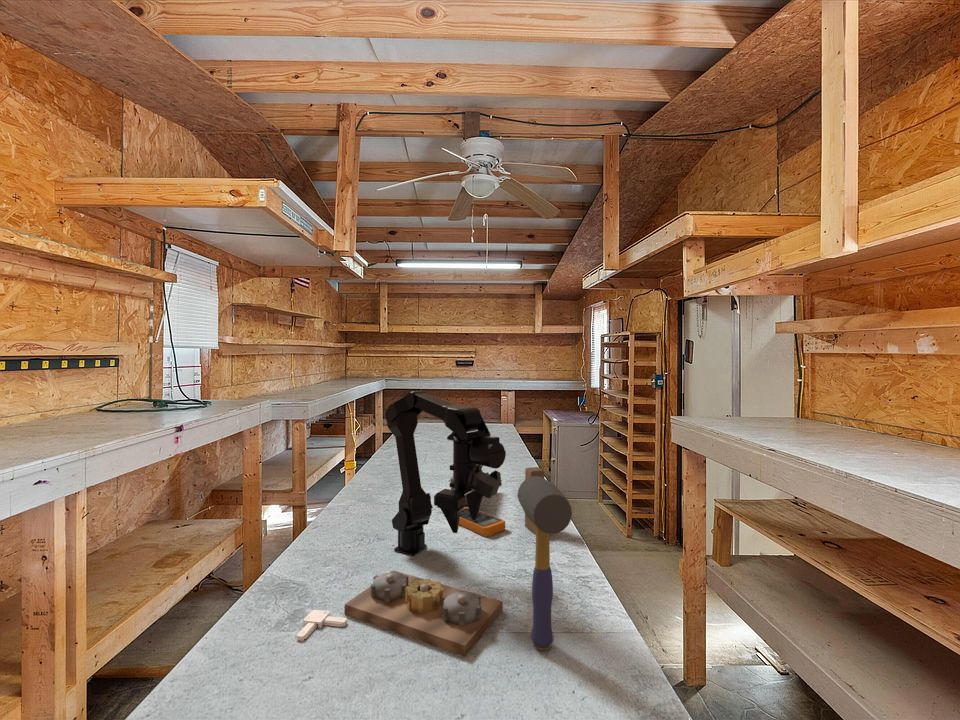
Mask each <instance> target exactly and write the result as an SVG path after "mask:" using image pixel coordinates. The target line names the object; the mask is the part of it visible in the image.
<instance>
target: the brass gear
mask: <svg viewBox="0 0 960 720" xmlns="http://www.w3.org/2000/svg"><path fill="white" fill-rule="evenodd" d="M424 579H425V580H419V581H417V580H415V581H413V582H412V584H410V585H409V586H406V588H405V603H407V609H408V610H409V611H410V610H413V611H416V612H418V613H421V614H423V612H429V611H433V612H434V611H436V610H437V608H438V607H439V606H440V605H443V588H442V587H441V584H442V582H441V581H436V580H434V579H433V580H432V579H431V578H424ZM422 584H428V592H420V586H421V585H422Z"/></svg>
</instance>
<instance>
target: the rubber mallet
mask: <svg viewBox="0 0 960 720" xmlns="http://www.w3.org/2000/svg"><path fill="white" fill-rule="evenodd" d="M517 498H518V502H519V504H520V506H521V509H522V510H523V512H524V515H525V514H526V516H527V517H528V518H529V519H530V520H531V521H532V522H533V523H534V524H535V525H536V535H535V555H534V557H535V558H534V559H535V566H534V569H533V573H532V582H531V599H532V608H533V609H532V610H533V611H532V613H533V614H532V629H531V633H530V639H531V641H532V644H533V647H534V649H537V650H539V651H547V650H549V649H550V647H551V645H552V643H553V641H554V633H553V630H552V629H553V628H552V605H553V597H554V586H553V585H554V584H553V583H554V582H553V573H552V569H551V566H550V556H551V555H550V551H551V549H550V546H551V545H550V543H551V542H550V538H551V537H550V536H551V535H555V534H559V533H561V532H562V531H564V530H566V528H567V527H568V526H569V524H570V523H571V520H572V516H573V512H572V511H573V510H572V506H571V504H570V502H569V500H568V498H567V497H566V496H565V495H564V494H563V492H561V490H560V489H559V488H558V487H556V485H554V483H552V482H550V481H549V480H548V479H546V478H545V477H544V478H542V477H538V476H533V477H529V478H527V479H526V480H525V479H524V480H523V481H522V482H521V484H520V485H519V487H518V491H517ZM550 534H551V535H550Z"/></svg>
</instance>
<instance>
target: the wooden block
mask: <svg viewBox="0 0 960 720" xmlns="http://www.w3.org/2000/svg"><path fill="white" fill-rule="evenodd" d="M524 471H525V473H524V474H525V476H524V477H525V478H524V480H526V479H527V478H529V477H533V476H538V477H542V478H544V479H545V470H544V469H542V468H541V467H538V466H535V467H525V470H524ZM524 527H525V528H526V529H528V531H530V532H531V533H532V534H534V536H536V525H535V524H534V523H533V522H532V521H531V520H530V519H529V518H528V517H527V516H526V514H525V513H524ZM551 535H552V534H550V536H551Z"/></svg>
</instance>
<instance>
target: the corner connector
mask: <svg viewBox="0 0 960 720" xmlns="http://www.w3.org/2000/svg"><path fill="white" fill-rule="evenodd" d="M346 623H348V618H346V617H339V616H331V611H329V610H321V609H312V610H311V611H310V612H309V614H308V615H307V616H305V618H304V619H303V621H302V626H303V628H302V629H301V630H300V631H299V632H298V633H297V634H296V640H297V641H298V640H300V641H299V642H303V641H305V640H306V639H308V637H309V636H311V634H312V633H313V632H314V631H315V630H316V629H317V628H319V627H320V628H319V629H322V627H323V626H330V627H331V626H332V627H338V628H340V627H342V626H344V627H346V625H347V624H346ZM304 639H305V640H304ZM301 640H302V641H301Z"/></svg>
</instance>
